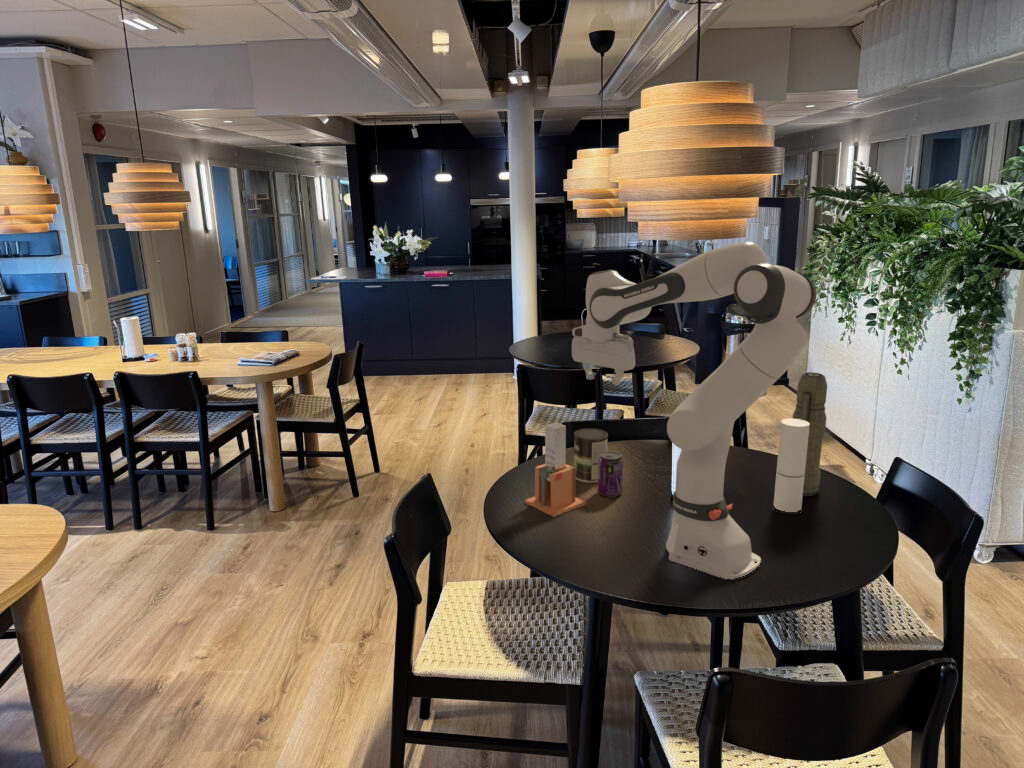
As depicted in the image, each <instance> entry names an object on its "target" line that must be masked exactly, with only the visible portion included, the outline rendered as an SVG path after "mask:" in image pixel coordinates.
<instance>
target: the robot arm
mask: <svg viewBox="0 0 1024 768" xmlns="http://www.w3.org/2000/svg"><path fill="white" fill-rule="evenodd" d="M585 286H586V287H585V306H586V310H587V311H586V312H587V314H586V318H585V324H584V325H581V326H578V327H574V328H572V330H571V331H572V332H571V333H572V336H573V338H572V341H571V357H572V359H573V361H574V362H575V363H576V362H577V363H582V367H583V370H584V371H585V372H584V373H585V375H586V376H585V377H586V380H589V381H591V380H594V379H595V372H593V369H592V366H593V365H594V366H599V367H604V368H607V369H608V368H610V369H614V373H615V375H614V377H612V378H611V384H612V385H614V386H619V385H621V378H622V377H623V374H624V372H627V371H630V370H633V369H634V368H635V366H636V354H635V348H634V340H633V339H632V337H630V335H628V334H624V333H623V334H621V333H620V326H621V325H624V324H630V323H634V322H637V321H641V320H643V319H645V318H646V317H648V316H649V315H650V313H651V311H652V308H653V307H655V306H656V307H657V306H659V305H664V304H676V303H689V302H705V301H709V300H710V301H711V300H716V299H720V298H724V297H726V296H730V295H734V299H735V301H736V302H737V304H738V306H739V307H740V308H741V310H742V311H743V314H744V316H745V318H746V319H747V321H748V322H750V323H751V324H752V323H753V324H754V327H753V330H751V332H750V333H749V334H748V335H747V336H746V338H744V340H742V342H740V343H739V345H738V346H737V347H736V348H735V349H734V350H733V351H732V352H731V353H730V354H729V355H728V356H727V357H726V358H725V359H724V360H723V362H722V363H721V364H720V365H719V366H718V367H717V368H716V369H715V370H714V371H713V372H712V373H711V374H709V375H708V376H707V378H706V377H705V379H704V380H703V381H702V382H701V383H699V385H698V386H697V387H696V388H695V389H694V390H693V391H691V393H690V394H689V395H688V396H686V398H685V399H684V400H683V401H682V402H681V403H679V405H678V406H677V407H676V408H675V409H674V410H673V412H672V413H671V414H670V416H669V418H668V420H667V424H666V432H667V435H668V438H669V440H670V441H671V443H672V444H674V446H676V447H677V448H679V449H681V450H680V453H679V456H678V458H677V461H676V470H675V471H676V472H675V474H676V475H675V490H674V492H673V494H672V495H673V497H672V508H673V516H672V521H671V528H670V531H669V535H668V538H667V540H666V543H665V548H666V550H667V552H668V560H669V561H670V562H673V563H675V562H676V564H678V563H679V565H681V564H682V566H684V565H685V566H684V567H687V566H688V568H690V567H691V569H693V568H694V570H696V569H697V570H696V571H699V570H700V572H702V571H703V572H702V573H705V572H706V574H709V575H711V576H714V577H717V578H720V577H721V578H720V579H723V578H724V579H723V580H727V579H730V580H736V579H735V578H738V577H741V578H743V577H742V576H744V577H746V576H745V575H747V574H749V573H750V572H752V571H753V570H755V569H756V568H757V567H758V566H759V565H760V563H761V564H762V558H761V556H759V555H758V554H756V553H754V552H752V543H751V538H750V536H749V535H748V534H747V533H746V532H745V531H744V530H743V528H742V527H740V525H739V524H738V523H737V522H736V521H735V519H734V518H733V517H731V515H730V514H729V510H731V509H732V508H733V503H730V504H728V505H727V502H726V499H725V497H724V483H725V473H726V465H727V464H726V463H727V458H728V454H729V450H730V446H731V442H732V437H733V431H734V430H733V429H734V425H735V421H736V420H737V419H739V418H740V417H741V415H743V414H744V413H745V412H746V411H747V410H748V409H749V408H750V407H751V406H752V405H753V404H755V402H757V401H758V400H759V399H760V398H761V396H763V395H764V394H765V393H766V392H767V390H769V389H770V388H771V387H772V386H773V385H774V384H775V383H776V382H777V381H778V380H780V378H781V377H782V376H783V375H784V374H785V373H786V372H787V371H788V369H789V368H790V367H791V366H792V365H793V364H794V363H795V361H796V360H797V359H798V357H799V355H800V354H801V353H802V352H803V350H804V348H805V347H806V345H807V340H808V338H807V337H808V336H807V333H806V331H805V329H804V327H803V326H802V325H801V324H800V323H799V322H798V320H797V319H799V318H801V317H803V316H805V315H807V314H808V313H809V312H810V311H811V310H812V309H813V307H814V305H815V303H816V299H817V289H816V287H815V284H814V283H813V281H811V279H810V278H808V276H807V275H805V274H803V273H801V272H799V271H796V270H792V269H790V268H789V267H785V266H783V265H776V264H771V263H769V262H768V258H767V255H766V253H765V251H764V249H763V248H762V247H761V246H760V245H759V244H757V243H755V242H752V241H743V242H737V243H731V244H728V245H727V244H726V245H723V246H720V247H717V248H713V249H711V250H708V251H705V252H703V253H701V254H699V255H696V256H694V257H692V258H691V259H689V260H686V261H685V262H683V263H682V264H680V265H677V266H676V267H673V268H672V269H670V270H667V271H666V272H664V273H662V274H660V275H658V276H656V277H653V278H650V279H647V280H644V281H642V282H639V283H636V282H633V281H630V280H628V279H626V278H624V277H623V276H622V275H621V274H619V272H618V271H617V270H614V269H607V270H601V271H600V270H599V271H596V272H592V273H591V274H589V276H588V277H587V280H586V285H585ZM755 562H757V563H755ZM760 566H761V565H760ZM760 566H759V567H760ZM755 571H756V570H755ZM752 573H753V572H752ZM749 575H750V574H749ZM747 576H748V575H747ZM738 579H739V578H738Z"/></svg>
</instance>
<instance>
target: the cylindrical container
mask: <svg viewBox="0 0 1024 768" xmlns="http://www.w3.org/2000/svg"><path fill="white" fill-rule="evenodd" d="M792 418H793V417H790V418H783V419H781V420H780V427H779V438H778V450H777V460H776V461H777V463H776V474H775V475H776V476H775V485H774V496H773V505H774V507H775V508H776V509H778V510H781V511H785V512H797V511H799V510H801V511H802V505H803V504H802V503H803V498H804V497H803V486H804V476H805V466H806V456H807V446H808V436H809V425H810V423H809V422H807V421H805V420H801V419H792Z"/></svg>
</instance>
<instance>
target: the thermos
mask: <svg viewBox="0 0 1024 768" xmlns="http://www.w3.org/2000/svg"><path fill="white" fill-rule="evenodd" d="M799 378H800V379H799V380H798V383H797V391H796V404H795V409H794V410H793V411H794V412H793V413H792V417H791V418H792V419H801V420H805V421H807V422H809V423H810V425H809V436H808V446H807V456H806V466H805V476H804V486H803V493H813V492H816V491H818V492H819V487H820V484H821V476H822V475H821V469H820V466H821V465H820V463H821V454H822V444H823V438H824V436H825V433H826V425H827V415H826V406H825V404H826V401H827V394H828V393H827V392H828V383H827V379H826V376H825V375H824V374H822V373H819V372H805V373H803V374H801V377H799Z"/></svg>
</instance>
